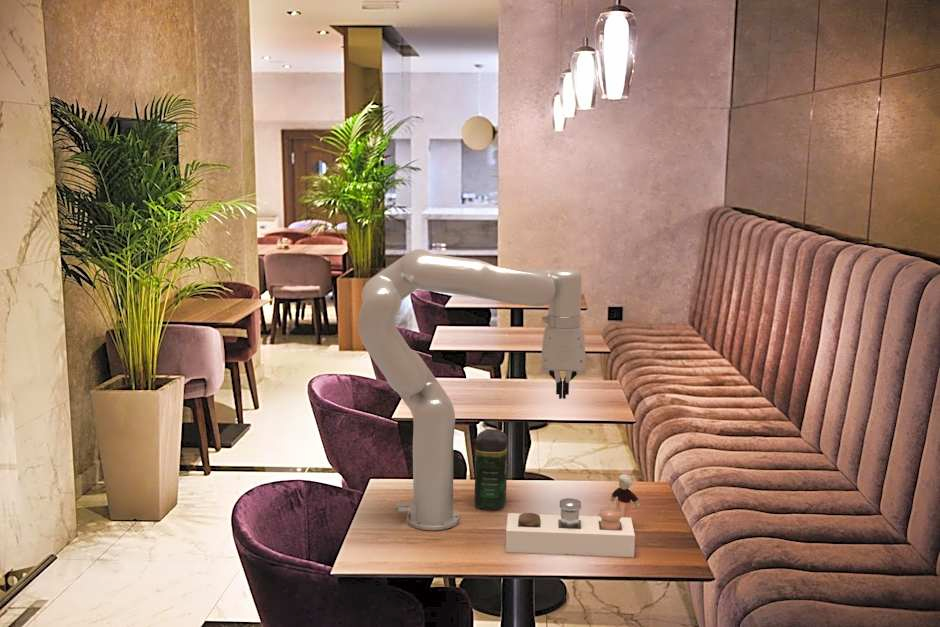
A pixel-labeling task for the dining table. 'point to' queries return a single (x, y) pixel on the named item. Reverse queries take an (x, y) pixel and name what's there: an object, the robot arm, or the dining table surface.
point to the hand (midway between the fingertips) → (562, 397)
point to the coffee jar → (490, 469)
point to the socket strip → (570, 537)
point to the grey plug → (570, 513)
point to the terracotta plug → (610, 518)
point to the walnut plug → (529, 520)
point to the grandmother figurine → (624, 496)
